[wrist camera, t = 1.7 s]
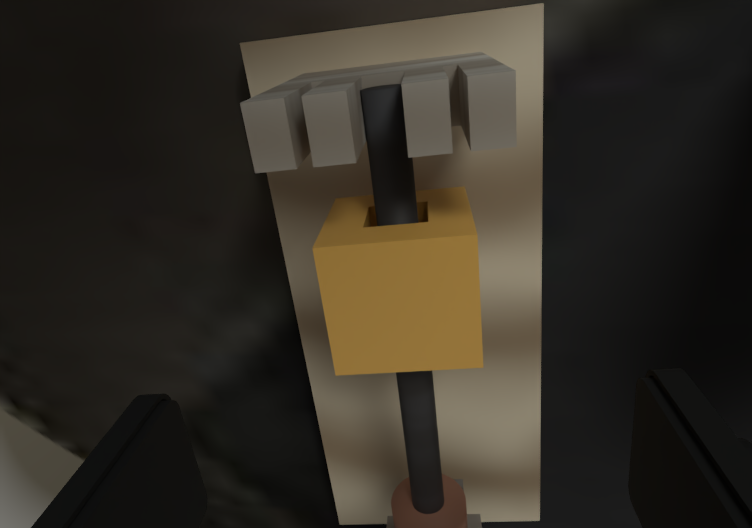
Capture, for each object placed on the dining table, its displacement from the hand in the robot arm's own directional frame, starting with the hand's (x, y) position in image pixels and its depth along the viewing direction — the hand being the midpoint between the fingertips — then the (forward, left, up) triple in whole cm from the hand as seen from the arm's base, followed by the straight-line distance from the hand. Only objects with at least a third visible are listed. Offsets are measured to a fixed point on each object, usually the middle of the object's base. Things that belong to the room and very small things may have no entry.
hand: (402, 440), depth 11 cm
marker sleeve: (-1, 0, -8) cm, 8 cm away
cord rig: (+4, 0, -12) cm, 13 cm away
